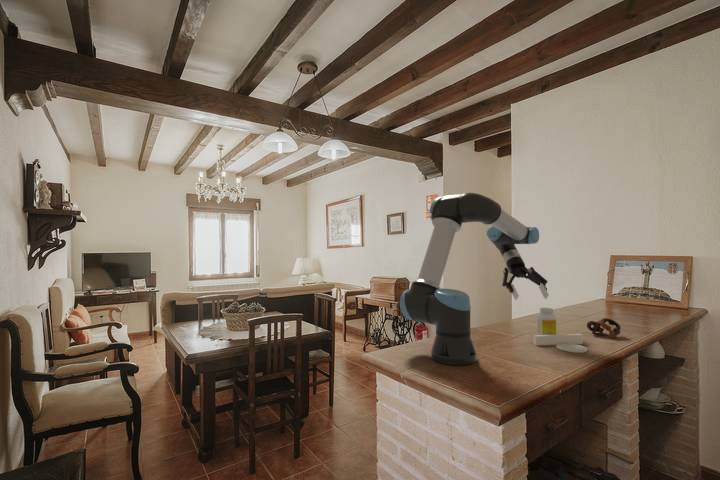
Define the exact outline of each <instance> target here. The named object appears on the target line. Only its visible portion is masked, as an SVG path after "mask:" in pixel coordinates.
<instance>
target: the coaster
mask: <svg viewBox="0 0 720 480" xmlns="http://www.w3.org/2000/svg"><path fill="white" fill-rule="evenodd" d="M555 346H556V348H557V349H558V350H560V351H562V352H568V353H576V354H579V353H580V354H581V353H586V352H588V350H589V349H588V348H587V346H583V345H582V344H568V343H562V344H557V345H555Z"/></svg>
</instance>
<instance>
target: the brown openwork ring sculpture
mask: <svg viewBox="0 0 720 480" xmlns="http://www.w3.org/2000/svg"><path fill="white" fill-rule="evenodd" d="M607 322H608V324H607ZM610 325H611V326H615V327H614V328H613V330H612V327H611V326H610ZM586 327H587V329H588V330H589V331H591V333H592V335H595V334H596V333H601V334H603V333H604V331H605V330H606V331H607V332H609V333H608V335H607V337H608V338H609V339H613V338H614V337H617V336H618V335H620V334H621V329H622V327H621V325H620V324H619V323H618V322H616V321H615V320H613V319H611V318H607V317H603V318H601V319H600V320H597V321H593V320H590V321H588V322H587V323H586Z"/></svg>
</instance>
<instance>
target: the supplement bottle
mask: <svg viewBox="0 0 720 480" xmlns="http://www.w3.org/2000/svg"><path fill="white" fill-rule="evenodd" d="M539 311H540V312H539V313H540V314H538V315H537V335H556V334H557V316H555V315H554V308H552V307H551V308H550V307H540V308H539Z"/></svg>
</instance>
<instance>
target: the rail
mask: <svg viewBox="0 0 720 480" xmlns="http://www.w3.org/2000/svg"><path fill="white" fill-rule="evenodd" d="M532 336H533V345H535V346H556V345H557V344H562V343H568V344H577V345H583V344H584V343H583V341H584V339H583V337H584V335H583V334H582V333H563V334H560V333H559V334H557V333H556V335H538V334H536V335H535V334H533V335H532Z"/></svg>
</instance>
